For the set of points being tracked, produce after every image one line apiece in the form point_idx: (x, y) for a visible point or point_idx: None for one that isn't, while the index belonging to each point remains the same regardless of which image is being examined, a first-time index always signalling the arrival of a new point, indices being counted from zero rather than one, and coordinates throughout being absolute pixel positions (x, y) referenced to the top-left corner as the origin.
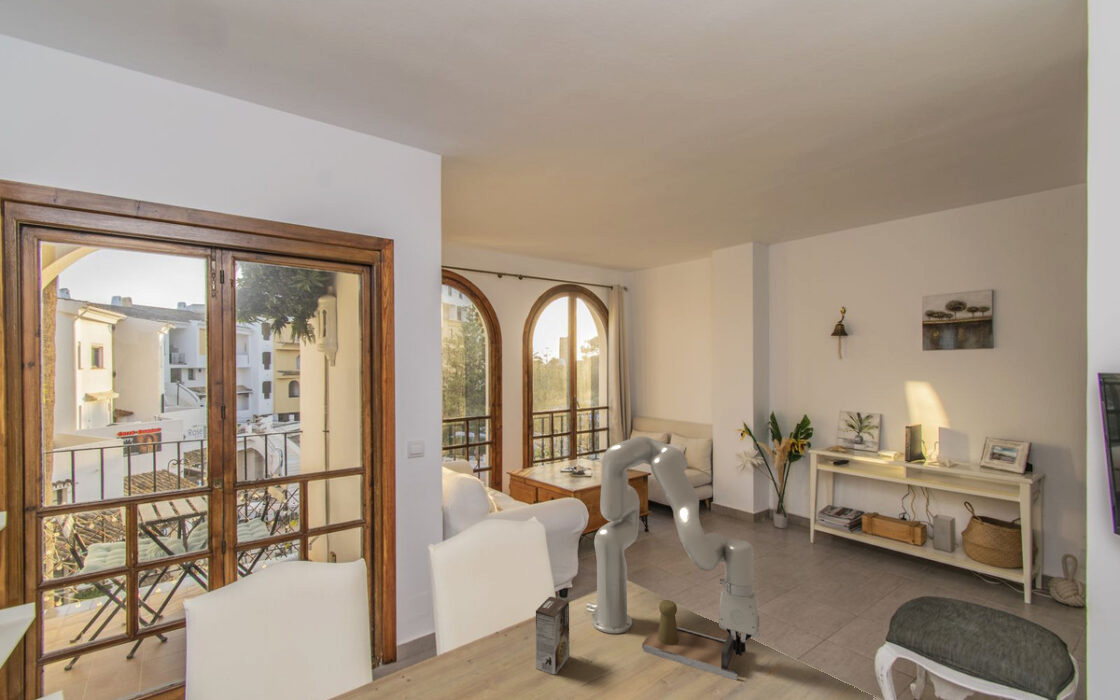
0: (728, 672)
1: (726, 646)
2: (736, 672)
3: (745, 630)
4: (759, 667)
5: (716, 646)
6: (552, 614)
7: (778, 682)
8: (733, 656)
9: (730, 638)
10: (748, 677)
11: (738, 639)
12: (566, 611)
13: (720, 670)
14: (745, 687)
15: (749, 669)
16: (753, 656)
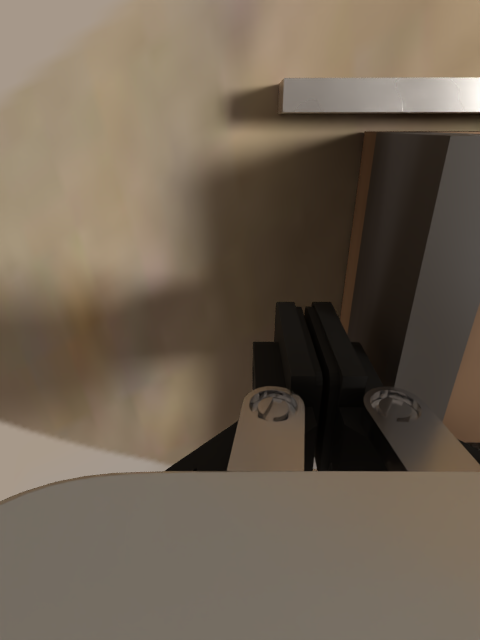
0: (361, 80)
1: (451, 286)
2: (290, 111)
3: (204, 538)
4: (163, 335)
5: (460, 393)
6: None
7: (6, 234)
8: None
9: None
10: (202, 182)
11: (329, 424)
12: None
13: (436, 78)
14: (194, 12)
15: (216, 284)
16: (221, 419)
